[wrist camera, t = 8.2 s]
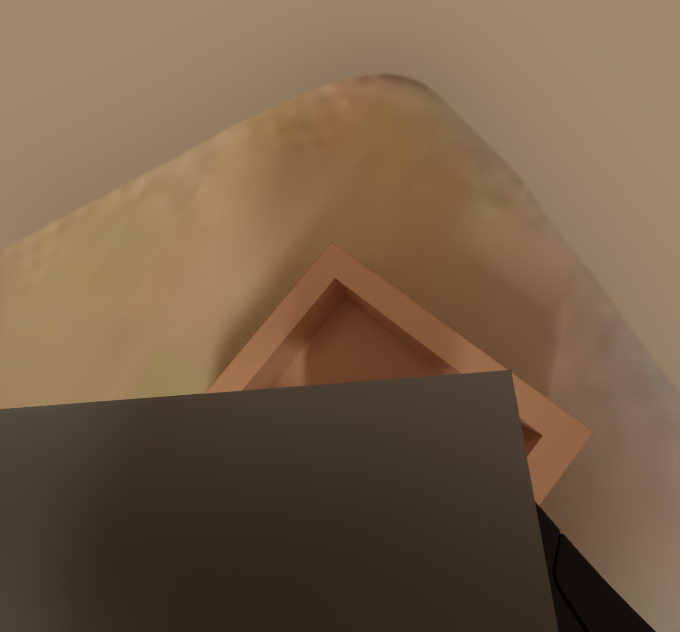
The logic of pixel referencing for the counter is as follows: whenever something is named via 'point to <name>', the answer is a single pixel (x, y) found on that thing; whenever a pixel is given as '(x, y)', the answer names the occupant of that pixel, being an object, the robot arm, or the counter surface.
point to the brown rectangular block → (275, 512)
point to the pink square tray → (385, 354)
